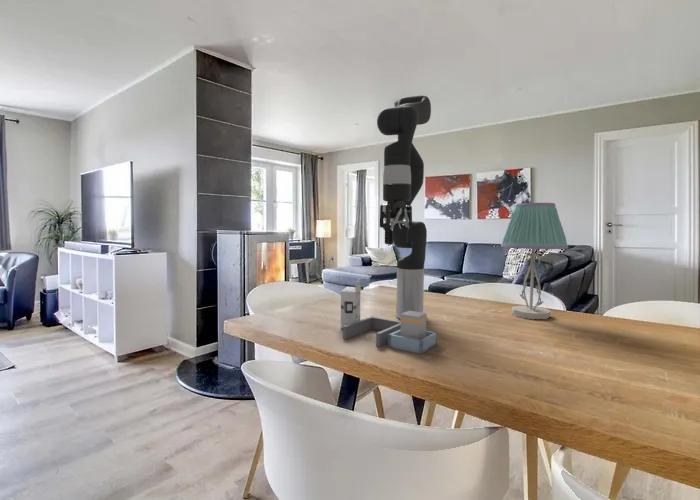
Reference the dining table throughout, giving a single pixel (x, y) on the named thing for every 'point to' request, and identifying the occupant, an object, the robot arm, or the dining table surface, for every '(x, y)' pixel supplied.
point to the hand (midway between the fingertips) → (396, 243)
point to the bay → (372, 323)
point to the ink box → (350, 304)
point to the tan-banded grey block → (413, 325)
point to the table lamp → (534, 246)
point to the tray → (412, 342)
